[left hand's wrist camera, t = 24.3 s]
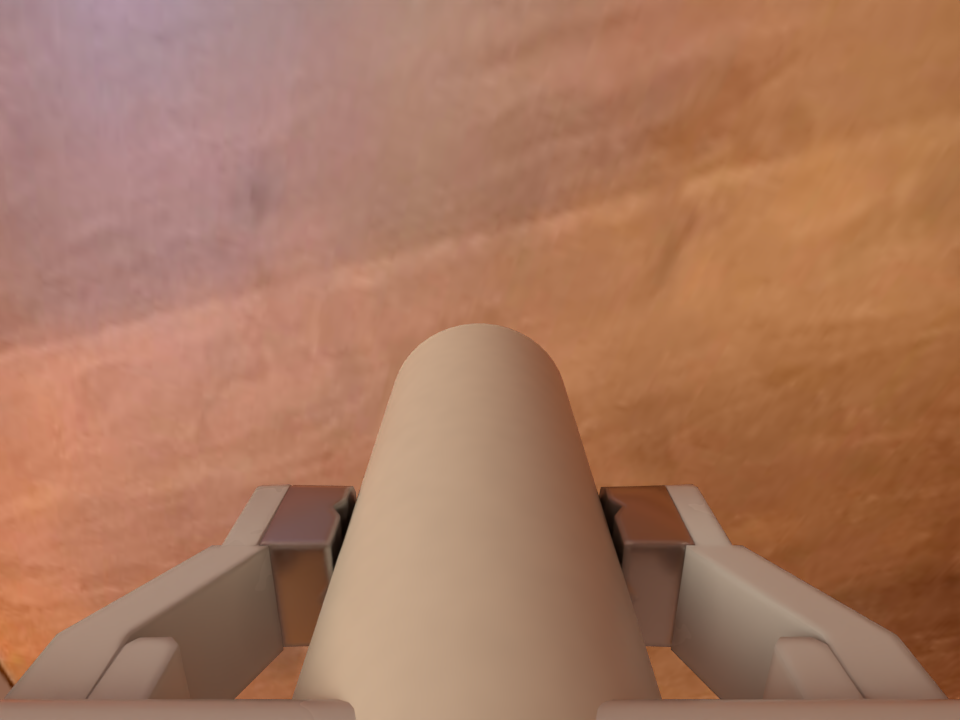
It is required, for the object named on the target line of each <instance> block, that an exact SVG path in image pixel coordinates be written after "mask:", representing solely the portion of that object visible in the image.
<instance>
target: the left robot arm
mask: <svg viewBox="0 0 960 720" xmlns="http://www.w3.org/2000/svg"><path fill="white" fill-rule="evenodd" d="M599 499H600V502H601V505H602V508H603V511H604V515H605V518H606V521H607V524H608V528H609V531H610V534H611V537H612V540H613V544H614V547H615V550H616V553H617V556H618V560H619V563H620V566H621V569H622V573H623V576H624V579H625V582H626V585H627V589H628V592H629V595H630V598H631V602H632V605H633V608H634V611H635V614H636V618H637V621H638V624H639V627H640V630H641V634H642V637H643V640H644V643H645V646H660V647H671V650H672V651H673V652H674V653H675V654H676V655H677V656H678V657H679V658H680V659H681V660H682V661H683V662H684V663H685V664H686V665H687V666H688V667H689V668H690V669H691V670H692V671H693V672H694V673H695V674H696V675H697V676H698V677H699V678H700V679H701V680H702V681H703V682H704V683H705V684H706V685H707V686H708V687H709V688H710V689H711V690H712V691H713V692H714V693H715V694H716V695H717V696H718V697H719V698H720V699H613V700H609V701H606V702H604V703H602V704H601V705H600V706H599V708H598V710H597V715H596V720H960V699H948V698H947V697H946V695H945V694H944V693H943V692H942V690H941V689H940V688H939V687H938V685H937V684H936V683H935V682H934V680H933V679H932V678H931V677H930V675H929V674H928V673H927V672H926V670H925V669H924V668H923V667H922V665H921V664H920V663H919V662H918V661H917V659H916V658H915V657H914V656H913V654H912V653H911V652H910V651H909V649H908V648H907V647H906V646H905V644H904V643H903V642H902V641H901V639H900V638H899V637H898V636H897V635H896V634H894V633H892V632H891V631H889V630H887V629H885V628H884V627H882V626H880V625H879V624H877V623H875V622H873V621H872V620H870V619H868V618H866V617H865V616H863V615H861V614H860V613H858V612H856V611H854V610H853V609H851V608H849V607H847V606H846V605H844V604H842V603H841V602H839V601H837V600H835V599H834V598H832V597H830V596H828V595H827V594H825V593H823V592H822V591H820V590H818V589H816V588H815V587H813V586H811V585H809V584H808V583H806V582H804V581H803V580H801V579H799V578H797V577H796V576H794V575H792V574H790V573H789V572H787V571H785V570H784V569H782V568H780V567H778V566H777V565H775V564H773V563H771V562H770V561H768V560H766V559H765V558H763V557H761V556H759V555H758V554H756V553H754V552H752V551H751V550H749V549H747V548H746V547H744V546H734V545H732V543H731V542H730V540H729V538H728V537H727V535H726V533H725V532H724V530H723V529H722V527H721V525H720V524H719V522H718V520H717V519H716V517H715V515H714V514H713V512H712V510H711V509H710V507H709V505H708V504H707V502H706V500H705V499H704V497H703V495H702V494H701V492H700V491H699V489H698V487H696V486H695V485H693V484H686V485H662V486H626V487H601V489H600V494H599ZM355 504H356V491H355V489H354V487H353V486H323V485H293V486H292V485H261V486H259V487H257V488H256V490H255V491H254V493H253V495H252V496H251V498H250V500H249V501H248V503H247V505H246V506H245V508H244V509H243V511H242V513H241V514H240V516H239V518H238V519H237V521H236V523H235V524H234V526H233V527H232V529H231V531H230V532H229V534H228V536H227V537H226V539H225V541H224V542H223V544H222V545H220V546H210V547H209V548H207V549H205V550H203V551H202V552H200V553H198V554H196V555H195V556H193V557H191V558H189V559H188V560H186V561H184V562H182V563H181V564H179V565H177V566H175V567H174V568H172V569H170V570H168V571H167V572H165V573H163V574H161V575H160V576H158V577H156V578H154V579H153V580H151V581H149V582H147V583H146V584H144V585H142V586H140V587H139V588H137V589H135V590H133V591H132V592H130V593H128V594H126V595H125V596H123V597H121V598H119V599H118V600H116V601H114V602H112V603H111V604H109V605H107V606H105V607H104V608H102V609H100V610H98V611H97V612H95V613H93V614H91V615H90V616H88V617H86V618H84V619H83V620H81V621H79V622H77V623H76V624H74V625H72V626H70V627H69V628H67V629H65V630H63V631H62V632H60V633H58V634H57V635H56V636H55V637H54V638H53V640H52V641H51V642H50V643H49V644H48V646H47V647H46V648H45V649H44V650H43V652H42V653H41V654H40V655H39V657H38V658H37V659H36V660H35V661H34V663H33V664H32V665H31V666H30V667H29V669H28V670H27V671H26V672H25V674H24V675H23V676H22V677H21V678H20V680H19V681H18V682H17V683H16V684H15V686H14V687H13V688H12V689H11V690H10V692H9V693H8V694H7V695H6V697H5V698H4V699H0V720H356V716H355V711H354V708H353V707H352V705H351V704H350V703H349V702H345V701H342V700H340V699H235V698H236V697H237V696H238V695H239V694H240V693H241V692H242V691H243V690H244V689H245V688H246V687H247V686H248V685H249V684H250V683H251V682H252V681H253V680H254V679H255V678H256V677H257V676H258V675H259V674H260V673H261V672H262V671H263V670H264V669H265V668H266V667H267V666H268V665H269V664H270V663H271V662H272V661H273V660H274V659H275V658H276V657H277V656H278V655H279V654H280V653H281V652H282V651H283V647H294V646H309V645H310V642H311V639H312V636H313V633H314V630H315V627H316V624H317V621H318V618H319V614H320V611H321V608H322V605H323V602H324V599H325V596H326V593H327V590H328V587H329V584H330V581H331V577H332V574H333V571H334V568H335V565H336V562H337V559H338V556H339V553H340V550H341V547H342V544H343V540H344V537H345V534H346V531H347V528H348V525H349V522H350V519H351V516H352V513H353V510H354V507H355Z"/></svg>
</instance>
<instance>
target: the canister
mask: <svg viewBox="0 0 960 720" xmlns="http://www.w3.org/2000/svg"><path fill="white" fill-rule="evenodd" d="M292 699H340V700H342V701H345V702H349V703H350V704H351V705H352V707H353V708H354V711H355V716H356V720H596V715H597V710H598V708H599V706H600V705H601V704H602V703H604V702H606V701H609V700H613V699H662V698H661V695H660V692H659V688H658V685H657V682H656V679H655V676H654V672H653V669H652V666H651V663H650V659H649V656H648V653H647V650H646V647H645V643H644V640H643V637H642V634H641V630H640V627H639V624H638V621H637V618H636V614H635V611H634V608H633V605H632V602H631V598H630V595H629V592H628V589H627V585H626V582H625V579H624V576H623V573H622V569H621V566H620V563H619V560H618V556H617V553H616V550H615V547H614V544H613V540H612V537H611V534H610V531H609V528H608V524H607V521H606V518H605V515H604V511H603V508H602V505H601V502H600V499H599V495H598V492H597V489H596V486H595V482H594V479H593V476H592V473H591V470H590V466H589V463H588V460H587V457H586V454H585V450H584V447H583V444H582V441H581V437H580V434H579V431H578V428H577V425H576V421H575V418H574V415H573V412H572V408H571V405H570V402H569V399H568V396H567V392H566V389H565V386H564V383H563V380H562V377H561V375H560V372H559V370H558V368H557V367H556V365H555V363H554V361H553V360H552V359H551V358H550V356H549V355H548V354H547V353H546V352H545V351H544V350H543V349H542V348H541V347H540V346H539V345H538V344H537V343H535V342H534V341H533V340H531V339H530V338H528V337H527V336H525V335H523V334H521V333H519V332H517V331H514V330H512V329H509V328H506V327H502V326H498V325H491V324H467V325H460V326H456V327H452V328H449V329H446V330H444V331H441V332H439V333H437V334H435V335H433V336H431V337H430V338H428V339H427V340H425V341H424V342H423V343H421V344H420V345H419V346H418V347H417V348H416V349H415V350H414V351H413V352H412V353H411V354H410V355H409V356H408V358H407V359H406V360H405V362H404V363H403V365H402V367H401V369H400V370H399V373H398V375H397V378H396V380H395V383H394V386H393V390H392V393H391V396H390V399H389V402H388V405H387V408H386V411H385V414H384V417H383V420H382V423H381V426H380V430H379V433H378V436H377V439H376V442H375V445H374V448H373V451H372V454H371V457H370V460H369V463H368V467H367V470H366V473H365V476H364V479H363V482H362V485H361V488H360V491H359V494H358V497H357V500H356V504H355V507H354V510H353V513H352V516H351V519H350V522H349V525H348V528H347V531H346V534H345V537H344V540H343V544H342V547H341V550H340V553H339V556H338V559H337V562H336V565H335V568H334V571H333V574H332V577H331V581H330V584H329V587H328V590H327V593H326V596H325V599H324V602H323V605H322V608H321V611H320V614H319V618H318V621H317V624H316V627H315V630H314V633H313V636H312V639H311V642H310V645H309V648H308V651H307V654H306V658H305V661H304V664H303V667H302V670H301V673H300V676H299V679H298V682H297V685H296V688H295V691H294V695H293V698H292Z"/></svg>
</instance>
